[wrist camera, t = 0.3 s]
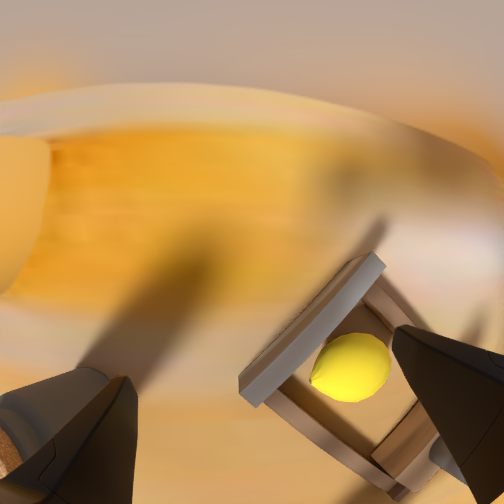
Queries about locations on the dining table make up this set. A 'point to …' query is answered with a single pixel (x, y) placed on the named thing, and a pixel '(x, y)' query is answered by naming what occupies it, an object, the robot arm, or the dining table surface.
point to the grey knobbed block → (415, 452)
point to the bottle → (42, 412)
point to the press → (306, 342)
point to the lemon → (351, 367)
